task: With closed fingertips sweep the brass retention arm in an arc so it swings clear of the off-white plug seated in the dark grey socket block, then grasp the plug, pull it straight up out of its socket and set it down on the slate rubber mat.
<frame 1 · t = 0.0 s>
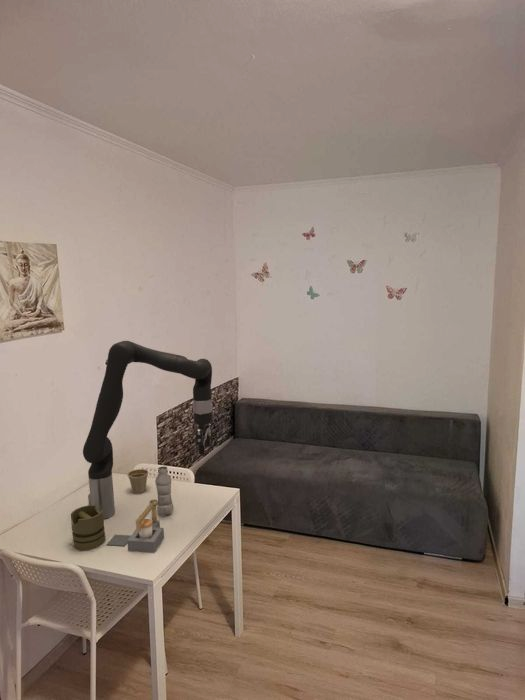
hand: (204, 450, 191), 29 cm above the table, fingers open, 8 cm apart
flower pot: (139, 491, 224), on the table
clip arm: (147, 514, 179), point 10 cm above the table, hinge at 0.0°
plug: (146, 544, 179), resting in socket block
plastic bottle: (165, 514, 201), on the table
mat: (119, 540, 181), on the table
piston: (89, 542, 181), on the table
socket block: (146, 544, 179), on the table
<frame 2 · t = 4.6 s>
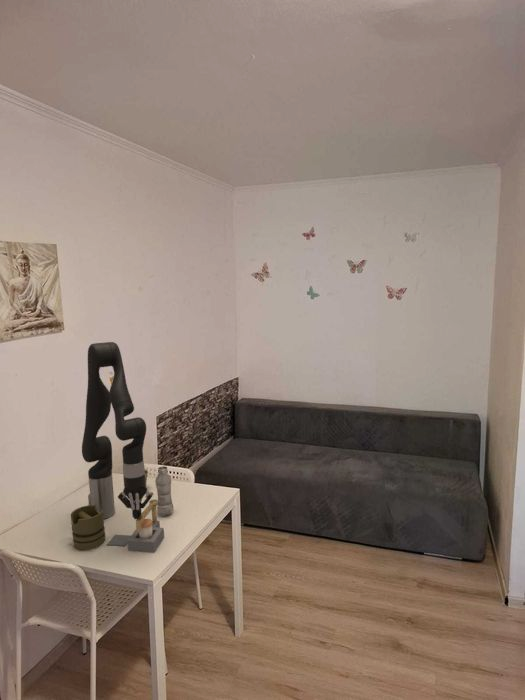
hand: (137, 518, 177), 11 cm above the table, fingers closed
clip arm: (147, 514, 179), point 10 cm above the table, hinge at 0.1°, touching gripper
everything else where it was.
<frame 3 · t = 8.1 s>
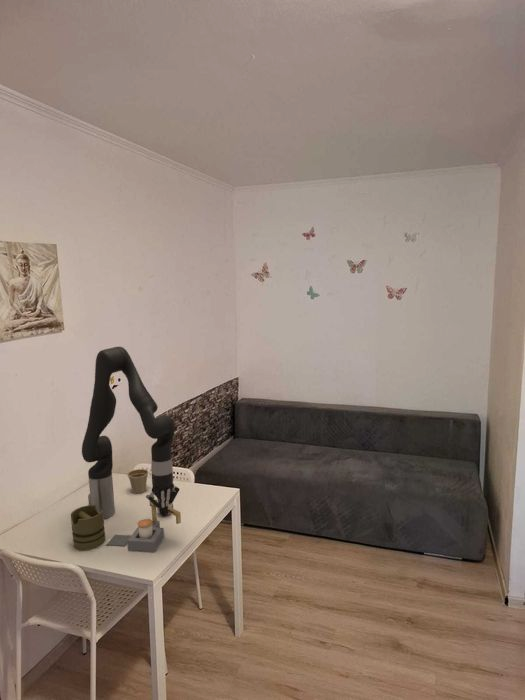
hand: (164, 515, 178), 11 cm above the table, fingers closed
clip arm: (164, 511, 182), point 10 cm above the table, hinge at 58.2°, touching gripper
everything else where it was.
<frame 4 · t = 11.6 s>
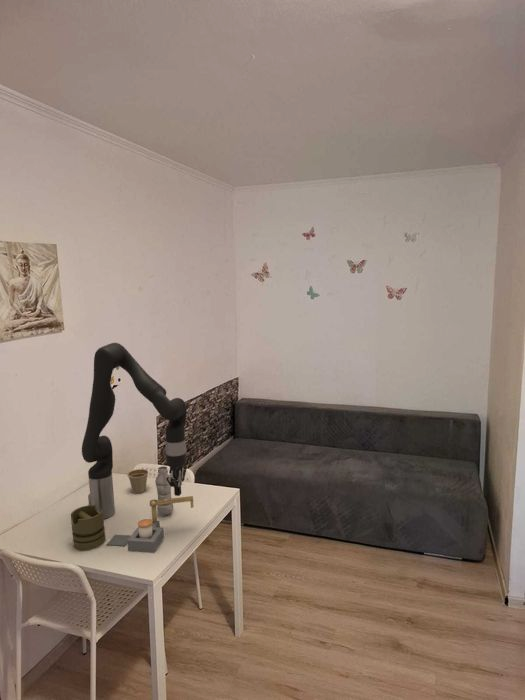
hand: (177, 494, 185), 15 cm above the table, fingers closed
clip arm: (171, 504, 187), point 10 cm above the table, hinge at 110.2°
everything else where it was.
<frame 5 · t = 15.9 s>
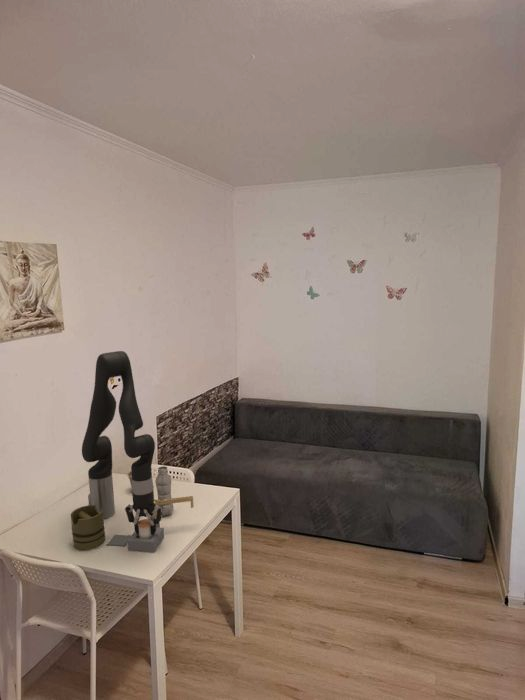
hand: (145, 532, 178), 4 cm above the table, fingers closed on plug, 5 cm apart
plug: (146, 544, 179), resting in socket block, touching gripper
everything else where it was.
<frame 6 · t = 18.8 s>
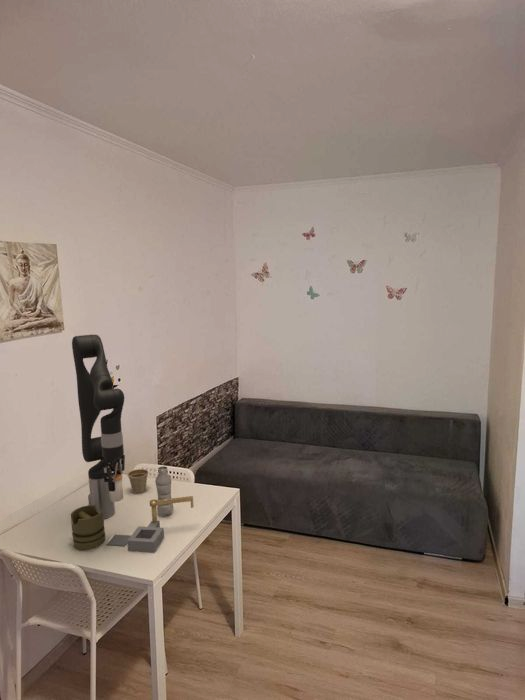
hand: (115, 487, 178), 21 cm above the table, fingers closed on plug, 5 cm apart
plug: (116, 498, 179), point 17 cm above the table, touching gripper
everything else where it was.
when the fingers open (6 cm above the table, at t = 22.0 s): plug drops 2 cm, resting on mat.
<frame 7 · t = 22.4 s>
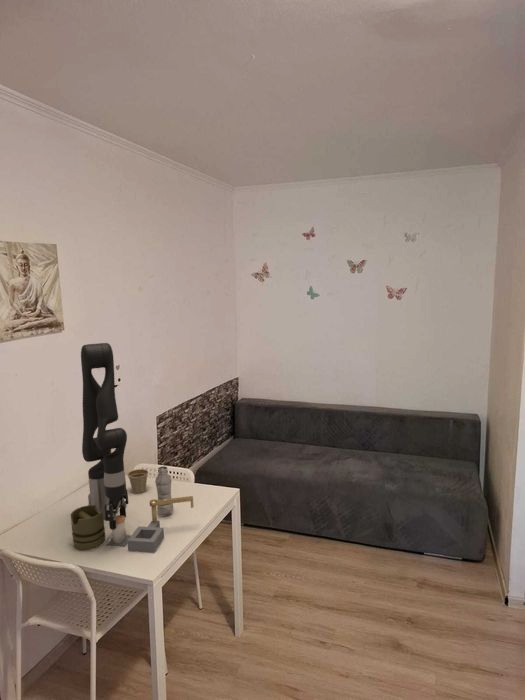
hand: (118, 523, 180), 7 cm above the table, fingers open, 8 cm apart
plug: (119, 540, 181), resting on mat
everything else where it was.
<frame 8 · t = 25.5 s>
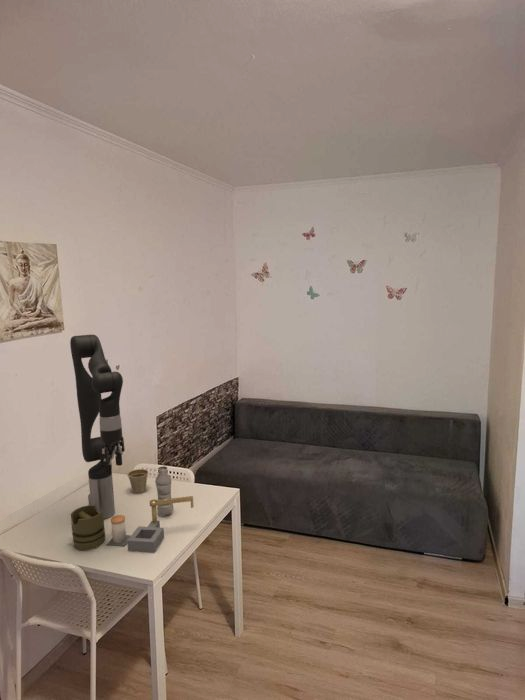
hand: (114, 469, 177), 28 cm above the table, fingers open, 8 cm apart
nothing on the table moved.
at the end: plug inside the target area on the mat (0.1 cm from its centre), point 0.4 cm above the mat's base; plug tilted 0°; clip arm at +110° (first picture: +0°) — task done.
